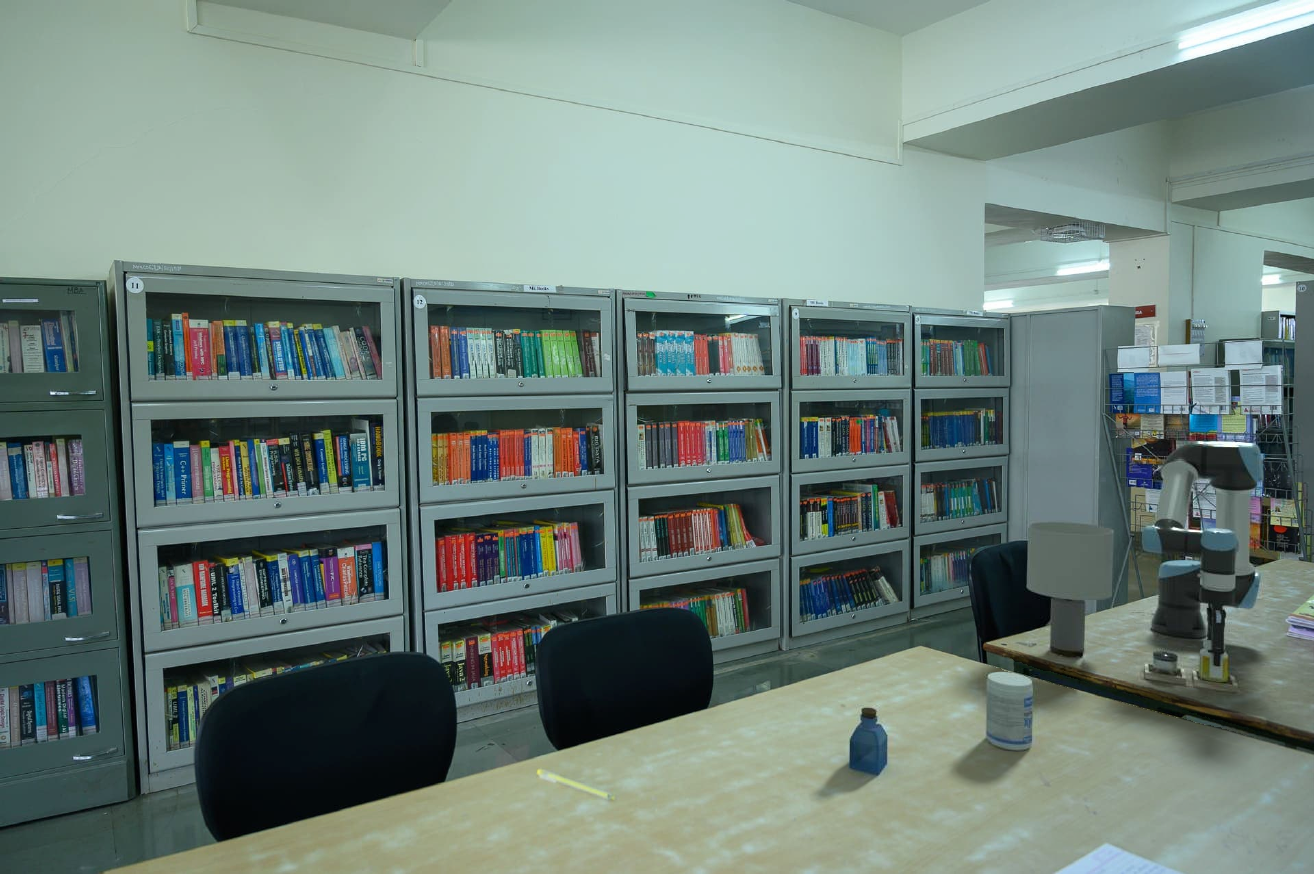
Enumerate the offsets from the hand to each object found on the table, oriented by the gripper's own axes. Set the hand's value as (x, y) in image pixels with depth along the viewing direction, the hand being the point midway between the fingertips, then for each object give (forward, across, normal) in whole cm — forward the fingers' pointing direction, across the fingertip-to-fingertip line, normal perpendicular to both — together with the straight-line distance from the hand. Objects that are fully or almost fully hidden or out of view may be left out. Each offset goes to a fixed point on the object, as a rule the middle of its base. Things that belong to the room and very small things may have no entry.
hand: (1214, 672), depth 209 cm
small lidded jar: (+3, 0, -11) cm, 11 cm away
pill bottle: (+3, 0, 0) cm, 3 cm away
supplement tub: (+5, +63, -42) cm, 76 cm away
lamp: (+5, -13, -36) cm, 38 cm away
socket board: (+4, 0, -6) cm, 7 cm away
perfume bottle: (+5, +90, -66) cm, 112 cm away
